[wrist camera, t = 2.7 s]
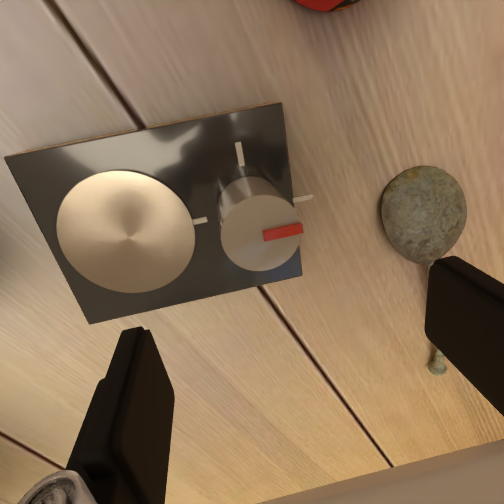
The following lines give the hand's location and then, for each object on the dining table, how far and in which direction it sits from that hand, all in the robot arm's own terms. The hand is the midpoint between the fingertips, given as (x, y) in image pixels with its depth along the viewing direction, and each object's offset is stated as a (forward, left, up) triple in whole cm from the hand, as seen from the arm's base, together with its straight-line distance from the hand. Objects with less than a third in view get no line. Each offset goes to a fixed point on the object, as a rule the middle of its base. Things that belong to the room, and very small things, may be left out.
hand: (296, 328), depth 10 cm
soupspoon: (+11, +15, -15) cm, 24 cm away
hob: (0, -5, -14) cm, 15 cm away
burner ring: (0, -8, -12) cm, 14 cm away
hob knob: (0, 0, -12) cm, 12 cm away
